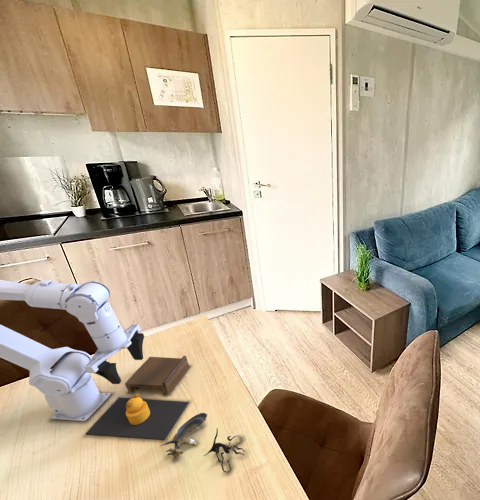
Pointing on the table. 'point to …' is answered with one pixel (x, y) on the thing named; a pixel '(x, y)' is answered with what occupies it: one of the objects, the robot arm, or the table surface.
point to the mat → (151, 428)
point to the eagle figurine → (185, 434)
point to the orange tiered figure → (137, 410)
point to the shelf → (158, 374)
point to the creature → (226, 449)
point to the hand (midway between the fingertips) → (128, 370)
